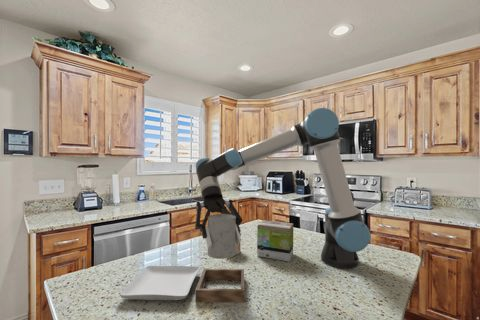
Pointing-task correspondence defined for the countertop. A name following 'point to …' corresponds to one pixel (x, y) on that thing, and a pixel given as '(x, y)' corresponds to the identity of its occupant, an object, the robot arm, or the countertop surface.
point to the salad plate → (161, 283)
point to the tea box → (275, 240)
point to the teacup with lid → (237, 247)
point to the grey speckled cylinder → (222, 235)
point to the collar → (220, 294)
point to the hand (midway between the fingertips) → (224, 244)
